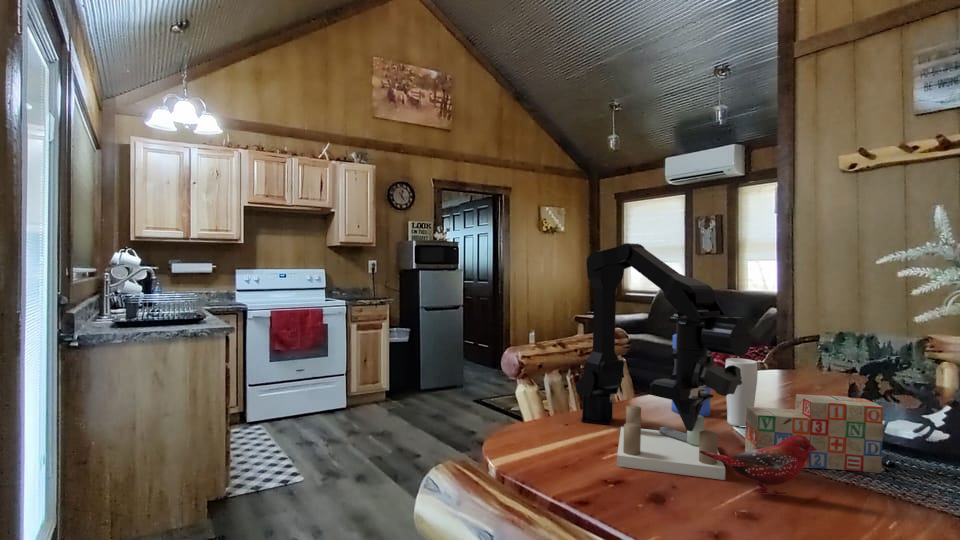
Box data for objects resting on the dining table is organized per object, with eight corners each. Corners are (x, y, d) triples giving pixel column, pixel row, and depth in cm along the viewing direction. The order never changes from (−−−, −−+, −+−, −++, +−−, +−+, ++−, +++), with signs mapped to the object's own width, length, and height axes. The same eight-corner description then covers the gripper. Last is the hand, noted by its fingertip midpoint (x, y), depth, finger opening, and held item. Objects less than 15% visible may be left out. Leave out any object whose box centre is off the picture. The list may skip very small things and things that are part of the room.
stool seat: (616, 466, 96) (617, 427, 96) (620, 435, 113) (621, 403, 113) (725, 480, 91) (726, 439, 91) (712, 446, 108) (712, 411, 108)
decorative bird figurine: (819, 502, 83) (821, 439, 83) (700, 492, 86) (701, 430, 86) (811, 494, 85) (813, 433, 85) (696, 484, 89) (697, 425, 88)
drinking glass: (748, 421, 126) (750, 358, 126) (761, 430, 119) (762, 363, 119) (719, 420, 126) (720, 357, 126) (729, 428, 120) (731, 362, 120)
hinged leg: (656, 432, 108) (656, 408, 108) (665, 430, 110) (665, 406, 110) (697, 445, 101) (698, 419, 101) (706, 442, 103) (707, 417, 102)
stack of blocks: (755, 464, 99) (757, 398, 99) (744, 452, 105) (746, 390, 105) (882, 473, 95) (884, 405, 95) (863, 461, 102) (865, 397, 101)
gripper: (706, 358, 89) (703, 451, 89) (758, 351, 100) (755, 434, 100) (649, 349, 98) (646, 434, 98) (702, 344, 109) (700, 420, 109)
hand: (689, 430), depth 101 cm, fingers closed
